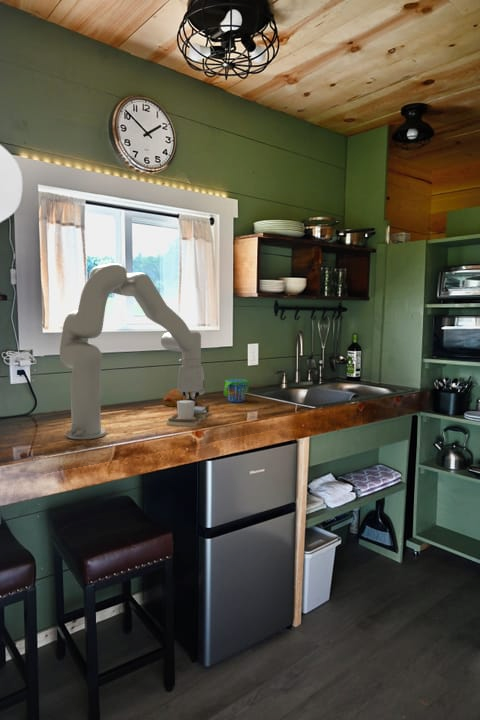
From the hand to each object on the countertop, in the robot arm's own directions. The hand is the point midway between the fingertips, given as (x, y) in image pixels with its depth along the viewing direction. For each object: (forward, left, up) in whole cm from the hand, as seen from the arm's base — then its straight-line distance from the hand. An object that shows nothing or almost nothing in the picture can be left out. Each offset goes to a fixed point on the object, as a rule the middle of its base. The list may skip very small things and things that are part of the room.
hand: (191, 408), depth 198 cm
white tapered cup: (-9, 0, -3) cm, 9 cm away
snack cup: (+39, -11, -4) cm, 41 cm away
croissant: (+26, +13, -4) cm, 30 cm away
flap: (+2, 0, -2) cm, 3 cm away
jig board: (-3, 0, -4) cm, 5 cm away
